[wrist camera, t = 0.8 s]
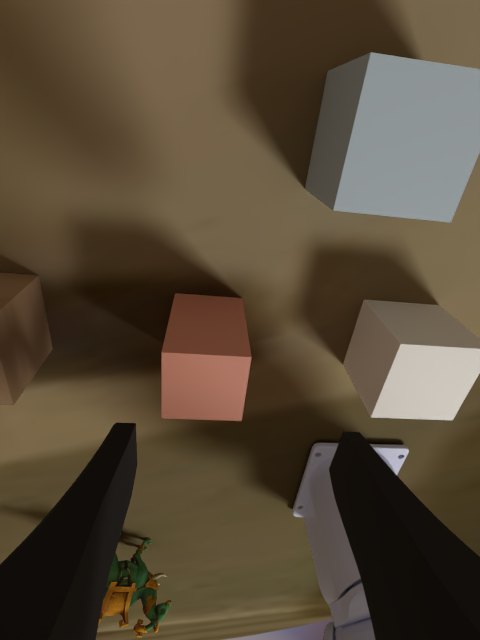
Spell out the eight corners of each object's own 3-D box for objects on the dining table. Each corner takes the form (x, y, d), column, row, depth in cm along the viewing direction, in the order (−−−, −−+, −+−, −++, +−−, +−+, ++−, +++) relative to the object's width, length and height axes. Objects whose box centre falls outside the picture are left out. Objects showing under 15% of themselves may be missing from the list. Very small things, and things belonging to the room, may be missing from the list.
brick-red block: (235, 352, 23) (241, 420, 18) (174, 348, 22) (161, 418, 17) (242, 298, 21) (251, 357, 16) (175, 292, 20) (161, 352, 15)
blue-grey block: (395, 198, 18) (450, 222, 14) (304, 188, 18) (333, 210, 14) (431, 86, 16) (511, 74, 12) (327, 71, 15) (370, 52, 11)
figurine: (170, 557, 35) (158, 668, 28) (46, 534, 32) (-3, 653, 25) (182, 541, 34) (173, 654, 27) (54, 515, 30) (5, 636, 23)
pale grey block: (410, 367, 24) (452, 420, 20) (342, 363, 24) (370, 417, 20) (438, 304, 22) (492, 349, 18) (363, 298, 21) (400, 344, 17)
